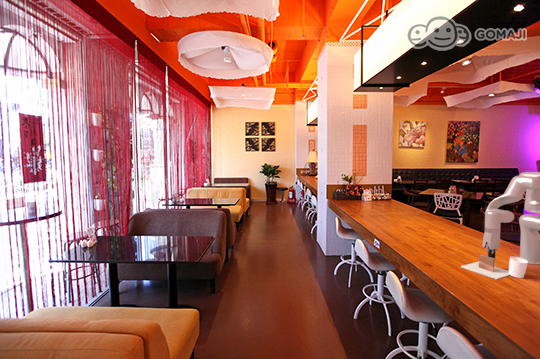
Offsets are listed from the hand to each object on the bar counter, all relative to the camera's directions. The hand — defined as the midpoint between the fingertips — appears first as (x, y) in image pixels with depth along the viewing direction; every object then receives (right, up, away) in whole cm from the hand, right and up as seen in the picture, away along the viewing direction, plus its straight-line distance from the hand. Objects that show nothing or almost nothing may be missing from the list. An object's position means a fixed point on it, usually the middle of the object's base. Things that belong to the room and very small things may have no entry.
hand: (491, 259), depth 168 cm
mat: (-4, -7, -1) cm, 8 cm away
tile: (-4, -6, -1) cm, 7 cm away
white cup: (+6, -7, -10) cm, 14 cm away
